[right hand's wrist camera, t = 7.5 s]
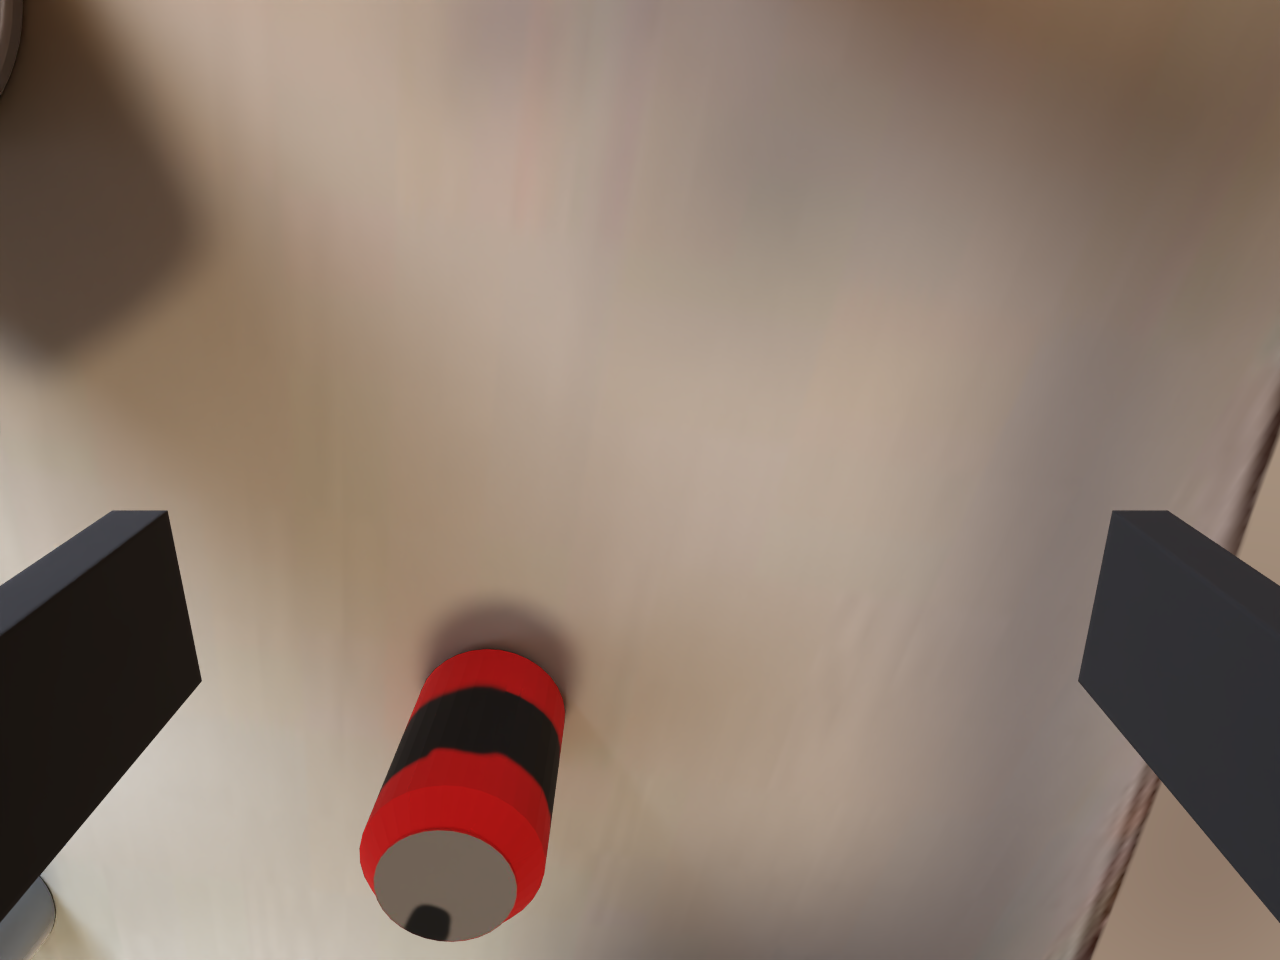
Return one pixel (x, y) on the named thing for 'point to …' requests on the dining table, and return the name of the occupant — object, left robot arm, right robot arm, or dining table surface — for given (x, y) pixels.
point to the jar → (27, 923)
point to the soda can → (468, 798)
